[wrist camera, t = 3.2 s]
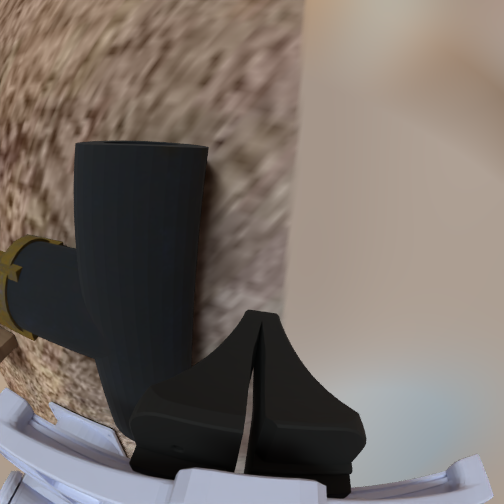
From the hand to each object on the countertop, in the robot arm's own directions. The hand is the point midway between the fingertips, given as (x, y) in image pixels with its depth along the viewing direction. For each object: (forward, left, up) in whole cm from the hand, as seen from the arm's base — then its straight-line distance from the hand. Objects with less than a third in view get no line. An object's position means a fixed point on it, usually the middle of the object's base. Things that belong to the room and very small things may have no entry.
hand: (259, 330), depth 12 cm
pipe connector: (0, +9, -2) cm, 9 cm away
